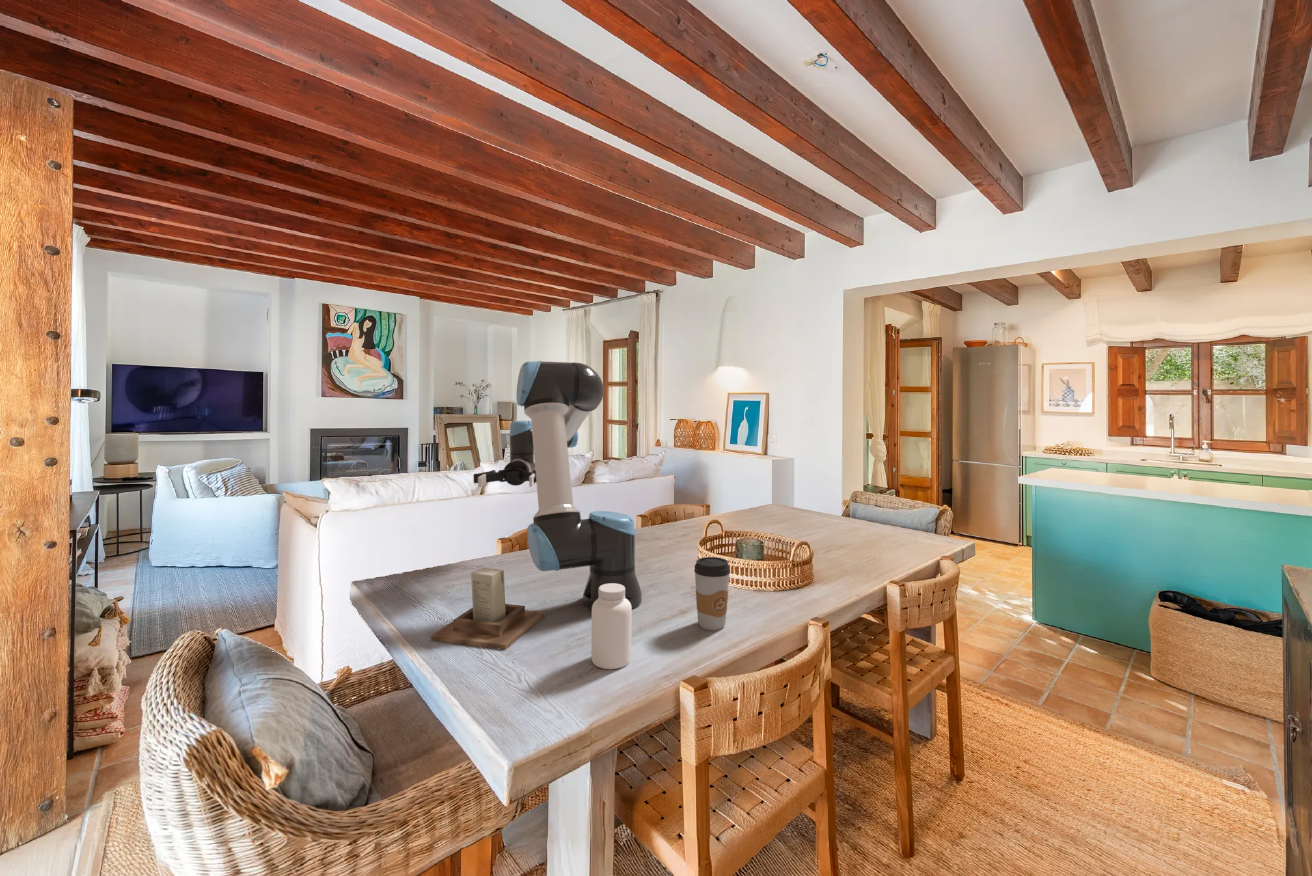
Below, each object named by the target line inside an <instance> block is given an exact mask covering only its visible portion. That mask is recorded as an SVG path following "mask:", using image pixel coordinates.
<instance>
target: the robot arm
mask: <svg viewBox="0 0 1312 876" xmlns="http://www.w3.org/2000/svg"><path fill="white" fill-rule="evenodd" d="M520 366H521V367H520V369H519V373H518V378H517V384H516V393H515V394H516V395H515V396H516V404H517V406H519V407H523V408H524V415H525V416H527V417H528V418H530V420H512V421H511V422H510V424H509V450H510V451H509V462H508V463H507V464H506V465H505V466H504V468H503V469H500V470H498V471H497V470H495V469H492V470H490V471H484V472H479V473H473V484H477V488H483V487H484V486H485V485H487V483H494V482H499V483H500V482H501V483H505V482H506V483H507V484H508V485H510V486H515V487H516V486H520V485H522V484H524V483H525V482H529V483H528V484H529V485H528V487H529V488H532V487H534V485H535V484H536V492H537V494H536V495H537V504H538V510H537V512H536V513H535V514H534V516H532V520H533V521H532V522H533V523H530V524H529V525H528V526H527V529H526V533H527V534H526V535H527V545H528V549H529V554H530V557H531V560H532V562H533V564H534V566H535V567H536V569H537V570H539V571H541V572H550V571H551V572H552V571H554V572H558V571H562V570H567V569H576V568H583V567H589V575H588V577H587V579H586V580H587V581H586V584H585V587H584V591H583V593H582V598H583V599H582V601H583V602H582V603H583V604H582V605H583V606H584V607H585V608H587V609H589V610H591V611H592V606H593V603H594V602H595V601H596V600H597V599H599V595H598V589H599V587H600V586H601V585H604V584H609V583H616V584H621V585H623V586H624V587H625V598H626V599H627V600H628V601H629V602H630V603H631V607H632V610H634V609H635V608H637V607H639V606H640V605H641V604H642V598H643V597H642V596H643V595H642V590H641V586H640V583H639V581H638V577H637V575H636V566H635V565H636V530H635V528H636V527H635V521H634V519H633V517H632V516H631V515H628V514H625V513H623V512H616V511H608V510H595V511H591V512H590V513H589V514H588V518H585V519H582V516H581V511H580V510H579V509H577V508H576V507H575V505H574V500H573V499H574V498H573V487H572V480H571V470H570V468H571V467H570V459H569V451H568V449H569V448H570V449H572V448H575V447H576V446H577V445H578V441H579V432H578V431H579V429H580V427H581V426H582V425H583V423H584V422H585V420H586V419H587V417H588V415H589V414H590V413H591V412H593V411H595V410H596V409H597V408H598V407H599V406H600V404H601V402H602V401H603V399H604V394H605V387H604V384H603V381H602V378H601V377H600V375H599V374H598V373H597V372H596V371H595V370H594V369H593V368H592V367H591V366H589V365H587V364H585V363H581V362H568V361H567V362H566V361H565V362H562V361H543V360H538V361H524V363H522V365H520Z"/></svg>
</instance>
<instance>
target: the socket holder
mask: <svg viewBox="0 0 1312 876" xmlns="http://www.w3.org/2000/svg"><path fill="white" fill-rule="evenodd" d="M505 610H506V616H505V617H504V618H503V619H501V620H500V621H499V622H488V621H479V620H473V607H471V608H469V609H468V610H467V611H465V612H464V613H462V614H460V615H459V616H457V617H456V618H454V619H453V620H452V621H451V622H450V623H448V624H446V625H445V626H444V627H442V628H441V629H439V630H438V631H435V632H434V633H433V634H431V635H430V640H431V641H432V642H433V641H434V642H441V643H450V644H458V645H459V644H460V645H466V646H474V647H480V646H481V647H480V648H488V647H489V649H490V648H491V649H496V648H500V649H499V650H504V649H505V650H507V649H508V648H509V647H510V646H511V644H512V645H513V644H514V643H515V642H516V641H517V640H519V639H520V638H521V637H523V635H524V634H525V633H527V632H528V631H529V630H530V629H532V627H533V626H534V624H535V625H536V624H537V623H538V622H539V621H540V620H542V619H543V618H544V617H545V611H537V610H526V606H525V605H521V604H519V605H518V604H509V603H505ZM526 631H527V632H526Z"/></svg>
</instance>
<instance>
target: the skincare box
mask: <svg viewBox="0 0 1312 876" xmlns="http://www.w3.org/2000/svg"><path fill="white" fill-rule="evenodd" d="M470 575H471V598H472V599H471V600H472V608H473V620H479V621H488V622H499V621H500V620H501V619H503V618H504V617H505V616H506V610H505V604H506V595H505V594H506V592H505V571H504V569H496V568H491V567H490V568H489V567H482V568H480V569H477V570H474V571H472V572H470Z"/></svg>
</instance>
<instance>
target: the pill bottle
mask: <svg viewBox="0 0 1312 876" xmlns="http://www.w3.org/2000/svg"><path fill="white" fill-rule="evenodd" d="M598 595H599V599H597V600H596V601H595V602H594V603H593V606H592V610H591V651H590V652H591V662H592V663H593V665H594V666H596V667H597V668H600V669H604V670H615V669H616V670H617V669H621V668H624V667H626V666H627V665H628V664H630V662H631V659H632V626H633V624H632V616H633V615H632V613H633V612H632V611H633V609H632V607H631V603H630V602H629V601H628V600H627V599H626V598H625V587H624V586H623V585H621V584H616V583H609V584H604V585H601V586H600V587H599V589H598Z"/></svg>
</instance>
